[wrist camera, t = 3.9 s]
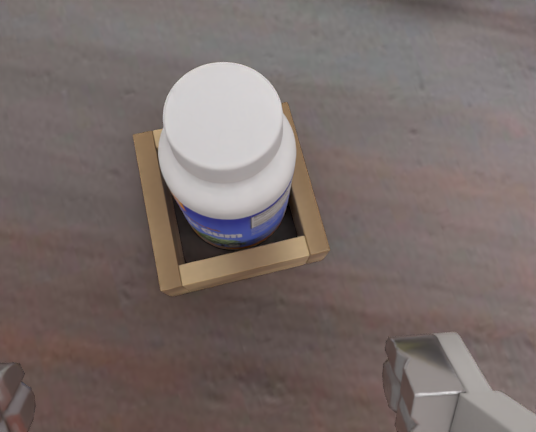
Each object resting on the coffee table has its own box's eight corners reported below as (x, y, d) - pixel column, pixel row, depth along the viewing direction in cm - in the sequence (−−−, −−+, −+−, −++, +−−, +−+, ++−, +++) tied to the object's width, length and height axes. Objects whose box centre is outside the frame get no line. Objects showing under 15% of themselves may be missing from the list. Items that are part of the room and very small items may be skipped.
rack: (171, 296, 22) (160, 291, 20) (144, 154, 25) (132, 134, 22) (323, 259, 23) (330, 250, 21) (285, 124, 25) (287, 101, 23)
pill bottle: (164, 211, 24) (101, 126, 14) (228, 137, 25) (207, 15, 16) (245, 273, 23) (233, 225, 13) (307, 194, 24) (335, 99, 15)
